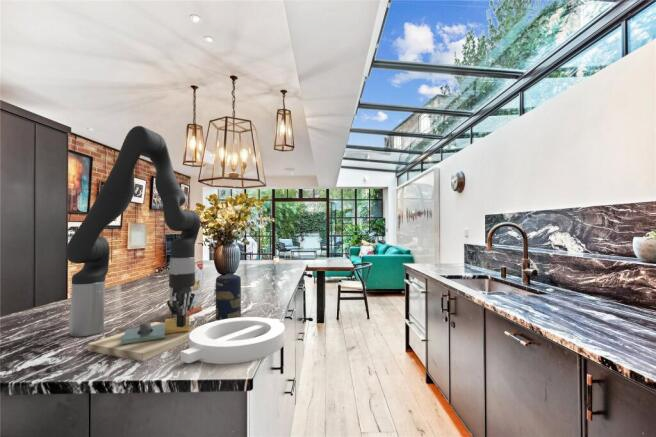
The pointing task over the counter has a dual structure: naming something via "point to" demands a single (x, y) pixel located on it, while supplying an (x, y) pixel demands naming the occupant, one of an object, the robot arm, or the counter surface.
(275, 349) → the white circle with bar
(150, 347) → the base board
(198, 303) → the cracker box
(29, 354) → the counter surface
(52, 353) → the counter surface
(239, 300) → the canister
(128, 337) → the t-shaped piece
